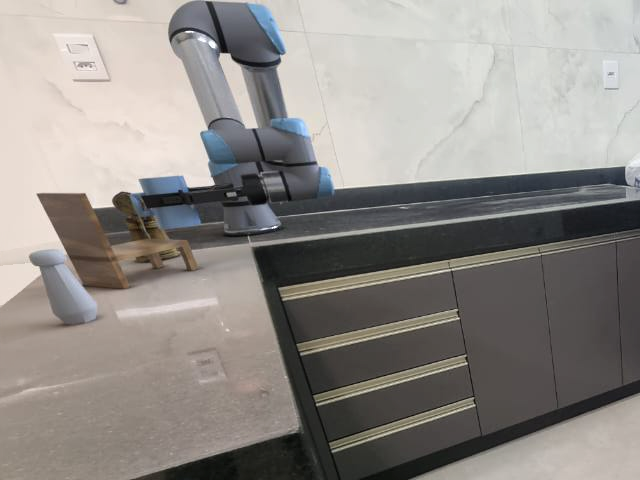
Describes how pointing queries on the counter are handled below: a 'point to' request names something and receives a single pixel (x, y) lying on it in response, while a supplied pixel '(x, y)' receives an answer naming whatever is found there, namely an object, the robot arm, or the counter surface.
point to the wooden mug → (141, 225)
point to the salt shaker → (64, 288)
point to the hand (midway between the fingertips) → (146, 200)
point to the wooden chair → (100, 242)
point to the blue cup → (170, 214)
